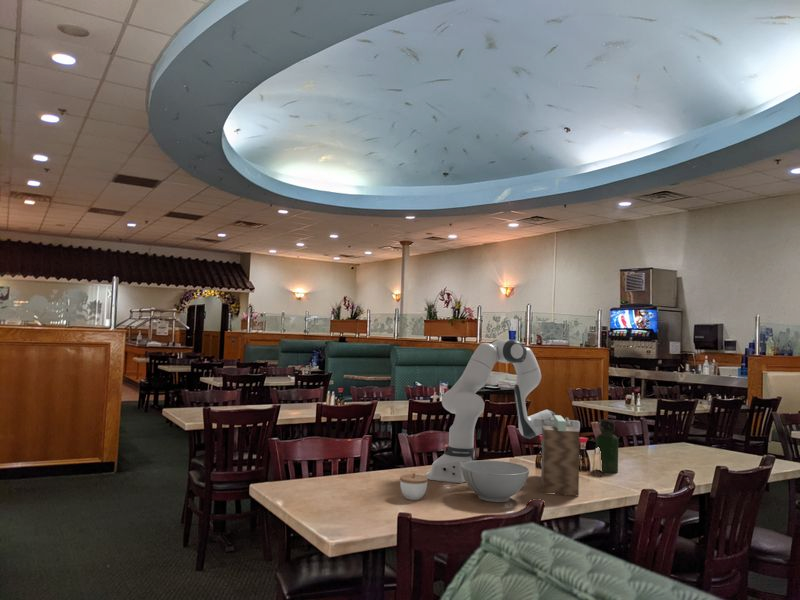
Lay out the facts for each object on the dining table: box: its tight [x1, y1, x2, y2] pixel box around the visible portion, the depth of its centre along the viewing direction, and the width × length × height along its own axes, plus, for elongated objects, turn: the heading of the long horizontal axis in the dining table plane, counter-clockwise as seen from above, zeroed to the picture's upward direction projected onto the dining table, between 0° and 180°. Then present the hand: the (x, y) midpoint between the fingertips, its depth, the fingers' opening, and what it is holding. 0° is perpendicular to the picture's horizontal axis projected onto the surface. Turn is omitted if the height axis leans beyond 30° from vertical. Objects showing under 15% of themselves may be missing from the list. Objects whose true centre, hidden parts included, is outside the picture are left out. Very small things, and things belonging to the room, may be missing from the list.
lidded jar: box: [399, 472, 429, 501], centre depth 237 cm, size 11×11×9 cm
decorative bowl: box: [461, 459, 530, 503], centre depth 241 cm, size 27×27×12 cm
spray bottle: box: [595, 418, 619, 474], centre depth 302 cm, size 10×10×25 cm
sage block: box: [554, 414, 566, 431], centre depth 261 cm, size 3×21×4 cm, turn 171°
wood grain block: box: [540, 426, 580, 496], centre depth 256 cm, size 14×12×26 cm
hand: (557, 418), depth 267 cm, fingers open, 6 cm apart
